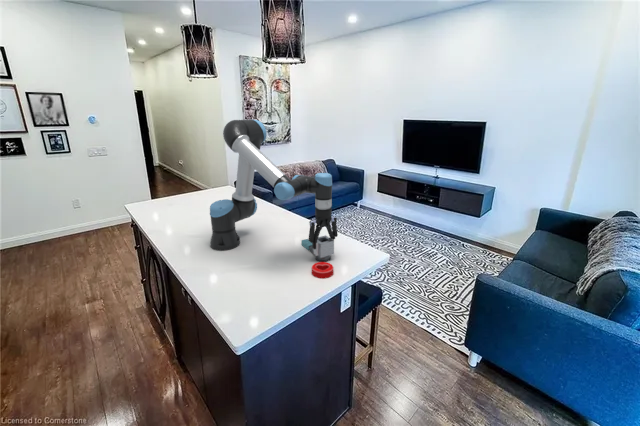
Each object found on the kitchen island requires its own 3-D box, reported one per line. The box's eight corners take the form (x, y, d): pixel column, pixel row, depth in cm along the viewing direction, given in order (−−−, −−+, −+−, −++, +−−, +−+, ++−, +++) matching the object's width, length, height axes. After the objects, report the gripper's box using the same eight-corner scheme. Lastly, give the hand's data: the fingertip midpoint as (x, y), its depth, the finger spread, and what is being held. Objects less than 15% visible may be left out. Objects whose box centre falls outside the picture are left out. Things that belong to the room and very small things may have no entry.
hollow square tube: (320, 257, 136) (320, 244, 134) (312, 251, 142) (312, 238, 140) (333, 254, 140) (334, 240, 138) (325, 248, 146) (325, 235, 144)
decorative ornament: (317, 280, 124) (317, 274, 123) (308, 270, 132) (308, 263, 131) (337, 276, 127) (337, 269, 126) (327, 265, 136) (327, 259, 135)
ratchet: (298, 245, 156) (298, 231, 153) (310, 242, 159) (310, 229, 157) (320, 263, 138) (320, 247, 135) (332, 259, 141) (333, 244, 138)
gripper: (307, 213, 126) (308, 260, 133) (346, 206, 136) (344, 250, 143) (299, 208, 132) (300, 254, 139) (337, 202, 142) (336, 245, 149)
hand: (323, 252), depth 141 cm, fingers closed on hollow square tube, 7 cm apart
